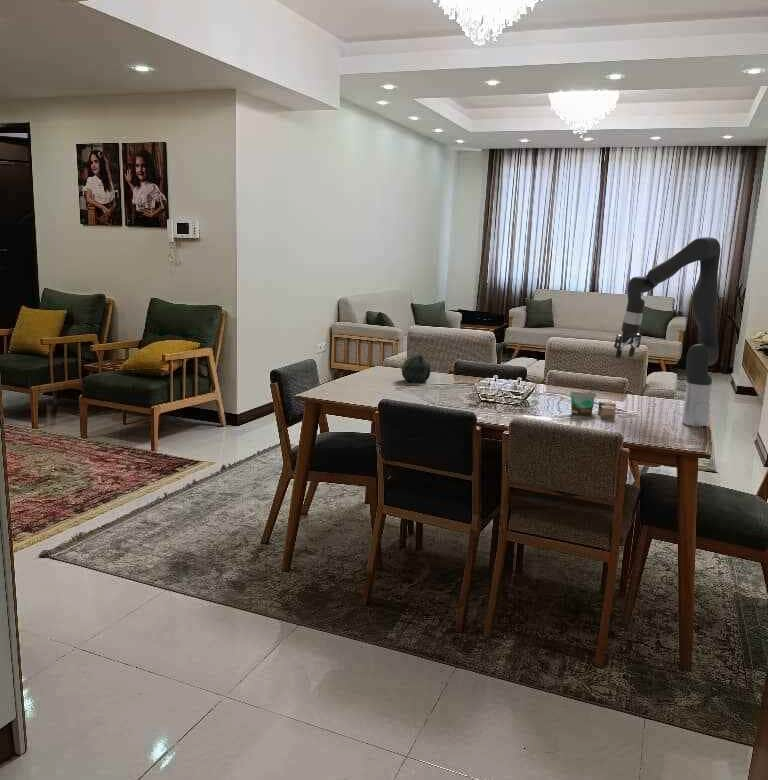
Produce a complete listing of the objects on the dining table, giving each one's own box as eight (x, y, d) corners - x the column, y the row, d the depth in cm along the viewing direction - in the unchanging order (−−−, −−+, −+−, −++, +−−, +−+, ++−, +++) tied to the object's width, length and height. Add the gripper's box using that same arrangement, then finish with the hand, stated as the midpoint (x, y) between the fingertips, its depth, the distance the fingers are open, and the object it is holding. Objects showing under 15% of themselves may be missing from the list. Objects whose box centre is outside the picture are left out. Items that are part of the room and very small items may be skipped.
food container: (577, 417, 298) (579, 394, 296) (568, 413, 303) (570, 391, 301) (601, 415, 303) (603, 392, 301) (591, 411, 308) (593, 389, 306)
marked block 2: (614, 420, 294) (615, 408, 293) (601, 419, 295) (602, 407, 294) (612, 417, 299) (613, 405, 298) (600, 416, 300) (601, 404, 299)
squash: (399, 367, 375) (403, 349, 363) (427, 368, 377) (432, 350, 365) (401, 389, 366) (405, 371, 354) (429, 390, 368) (434, 372, 356)
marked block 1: (614, 415, 303) (615, 403, 302) (604, 415, 302) (605, 403, 301) (608, 412, 308) (609, 400, 307) (598, 412, 307) (599, 401, 306)
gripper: (628, 324, 303) (620, 360, 308) (649, 323, 310) (641, 358, 315) (614, 320, 309) (607, 355, 314) (635, 319, 316) (628, 353, 321)
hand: (624, 357), depth 315 cm, fingers open, 8 cm apart
